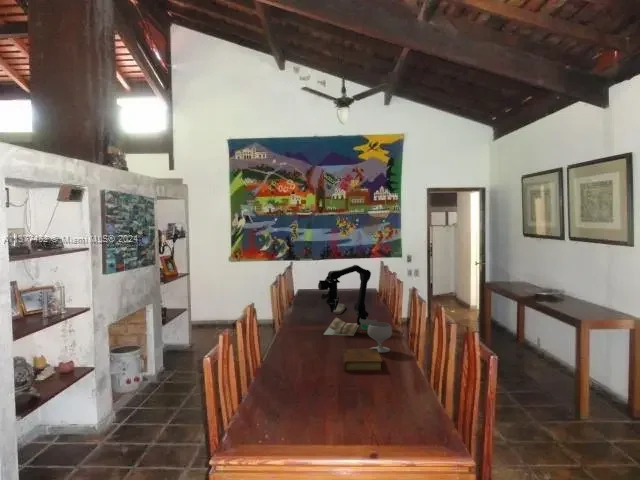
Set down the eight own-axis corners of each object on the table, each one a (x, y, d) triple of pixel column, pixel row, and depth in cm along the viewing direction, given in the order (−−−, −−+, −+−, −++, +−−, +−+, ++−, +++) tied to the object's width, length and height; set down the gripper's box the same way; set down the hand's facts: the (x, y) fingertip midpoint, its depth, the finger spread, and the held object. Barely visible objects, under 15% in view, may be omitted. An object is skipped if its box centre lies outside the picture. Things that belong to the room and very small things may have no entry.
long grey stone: (330, 316, 378) (342, 317, 377) (330, 310, 378) (342, 310, 376) (334, 306, 413) (346, 306, 411) (335, 300, 412) (346, 300, 411)
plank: (344, 325, 335) (345, 322, 335) (339, 333, 312) (340, 330, 311) (334, 319, 336) (336, 317, 336) (328, 327, 313) (330, 324, 312)
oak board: (357, 326, 333) (357, 323, 333) (352, 334, 310) (352, 331, 310) (346, 325, 335) (346, 323, 335) (341, 333, 311) (341, 330, 311)
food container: (356, 334, 311) (356, 319, 311) (360, 332, 317) (359, 317, 316) (374, 336, 305) (373, 320, 305) (377, 334, 311) (377, 319, 310)
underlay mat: (358, 325, 336) (358, 325, 336) (353, 336, 307) (353, 335, 307) (331, 325, 340) (331, 324, 340) (323, 335, 311) (323, 334, 311)
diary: (342, 359, 258) (342, 348, 258) (377, 358, 258) (377, 348, 258) (344, 372, 235) (344, 360, 235) (382, 372, 235) (382, 360, 235)
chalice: (393, 347, 277) (393, 322, 277) (390, 354, 264) (390, 327, 263) (369, 346, 281) (369, 321, 281) (365, 352, 268) (365, 326, 267)
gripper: (324, 287, 342) (325, 308, 343) (318, 291, 324) (319, 313, 325) (340, 287, 340) (340, 309, 340) (334, 291, 321) (335, 314, 322)
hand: (333, 311), depth 332 cm, fingers open, 9 cm apart
